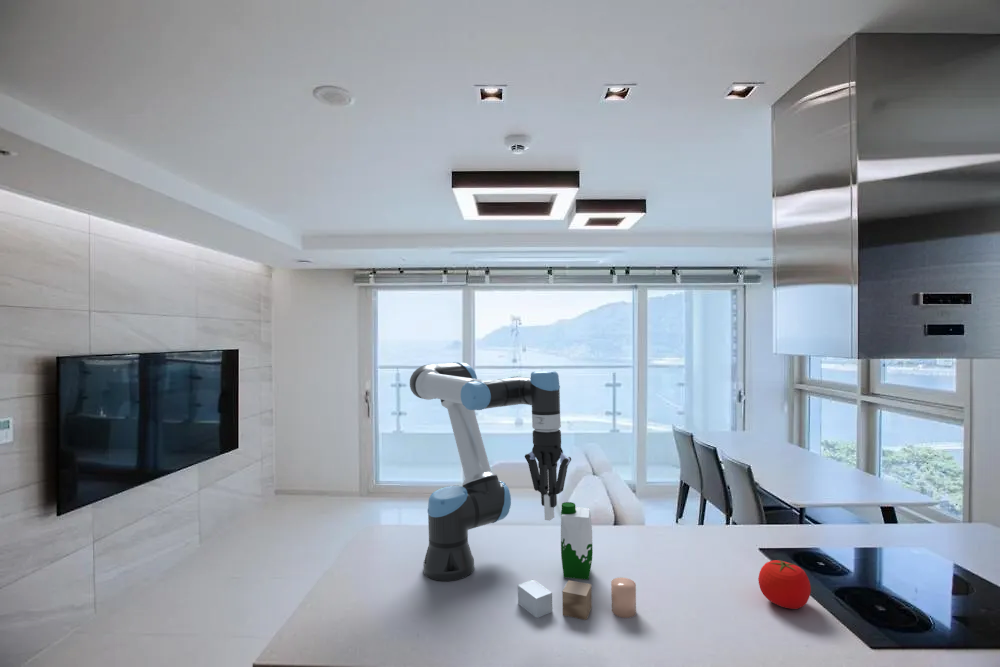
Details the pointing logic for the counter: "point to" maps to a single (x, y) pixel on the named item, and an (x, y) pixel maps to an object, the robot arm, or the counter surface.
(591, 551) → the milk carton
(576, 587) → the walnut cube
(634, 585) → the peach domed cylinder
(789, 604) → the tomato
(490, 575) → the counter surface
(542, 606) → the grey brick
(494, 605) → the counter surface
